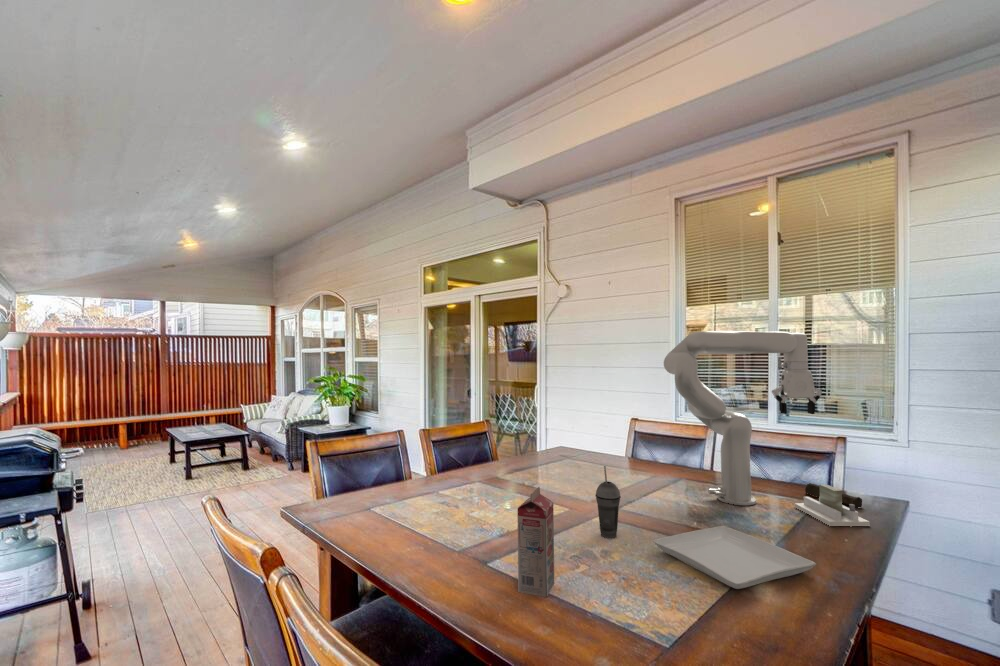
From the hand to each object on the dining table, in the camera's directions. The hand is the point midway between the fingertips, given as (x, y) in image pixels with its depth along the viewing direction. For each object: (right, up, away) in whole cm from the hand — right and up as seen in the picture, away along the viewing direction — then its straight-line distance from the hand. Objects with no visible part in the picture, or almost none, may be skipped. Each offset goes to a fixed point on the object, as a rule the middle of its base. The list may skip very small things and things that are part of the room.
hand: (797, 413), depth 174 cm
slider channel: (-2, -30, -20) cm, 36 cm away
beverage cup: (-77, -30, -34) cm, 89 cm away
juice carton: (-101, -29, -65) cm, 123 cm away
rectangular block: (-2, -29, -20) cm, 35 cm away
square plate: (-50, -30, -53) cm, 79 cm away
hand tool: (+10, -31, -3) cm, 33 cm away
